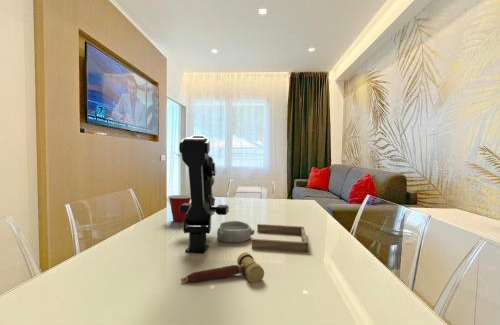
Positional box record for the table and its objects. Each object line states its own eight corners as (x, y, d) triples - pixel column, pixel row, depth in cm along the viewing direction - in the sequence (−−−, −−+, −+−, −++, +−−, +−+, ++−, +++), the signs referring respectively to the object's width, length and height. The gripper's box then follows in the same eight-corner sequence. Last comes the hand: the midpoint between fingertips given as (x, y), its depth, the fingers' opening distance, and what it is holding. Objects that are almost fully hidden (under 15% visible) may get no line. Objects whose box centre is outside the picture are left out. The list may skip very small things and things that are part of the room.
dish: (218, 245, 97) (219, 231, 96) (213, 233, 110) (213, 221, 110) (257, 242, 101) (257, 229, 100) (247, 231, 114) (248, 219, 114)
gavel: (182, 280, 64) (178, 263, 73) (183, 299, 64) (179, 279, 74) (264, 264, 71) (251, 251, 80) (264, 281, 71) (252, 266, 80)
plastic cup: (194, 218, 133) (194, 194, 132) (187, 224, 122) (187, 197, 121) (173, 217, 134) (173, 193, 133) (163, 222, 123) (164, 196, 123)
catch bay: (307, 252, 92) (307, 243, 92) (251, 248, 94) (251, 239, 94) (303, 233, 112) (303, 226, 112) (257, 230, 114) (257, 223, 114)
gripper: (231, 189, 113) (230, 226, 114) (188, 187, 115) (188, 223, 116) (226, 193, 102) (225, 234, 103) (178, 191, 104) (178, 231, 105)
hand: (203, 230), depth 107 cm, fingers closed
